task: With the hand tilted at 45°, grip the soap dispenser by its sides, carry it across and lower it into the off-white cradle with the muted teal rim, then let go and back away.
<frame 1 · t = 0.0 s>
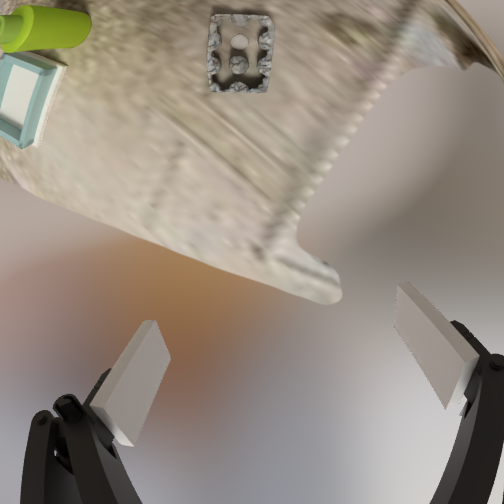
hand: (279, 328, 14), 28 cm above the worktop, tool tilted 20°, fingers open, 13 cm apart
cradle: (25, 94, 26), on the worktop
egg carton: (241, 53, 28), on the worktop
soap dispenser: (74, 33, 22), on the worktop
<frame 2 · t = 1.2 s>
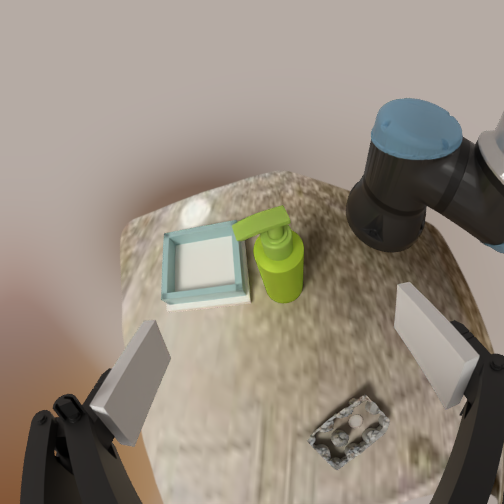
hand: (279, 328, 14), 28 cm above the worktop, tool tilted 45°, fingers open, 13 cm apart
cradle: (207, 269, 47), on the worktop
egg carton: (347, 429, 32), on the worktop
soap dispenser: (281, 287, 44), on the worktop
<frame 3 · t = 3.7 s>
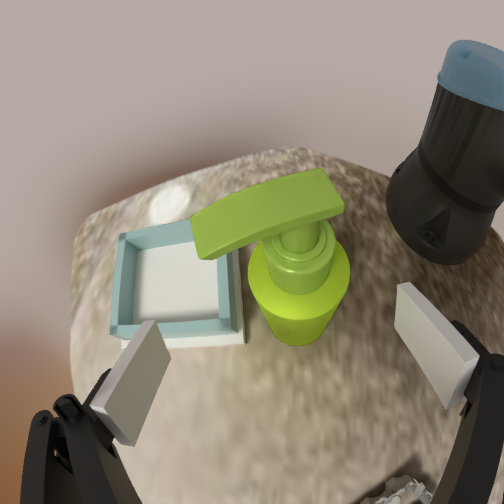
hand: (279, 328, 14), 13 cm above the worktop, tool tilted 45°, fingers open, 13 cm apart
cradle: (180, 287, 30), on the worktop
soap dispenser: (293, 319, 27), on the worktop
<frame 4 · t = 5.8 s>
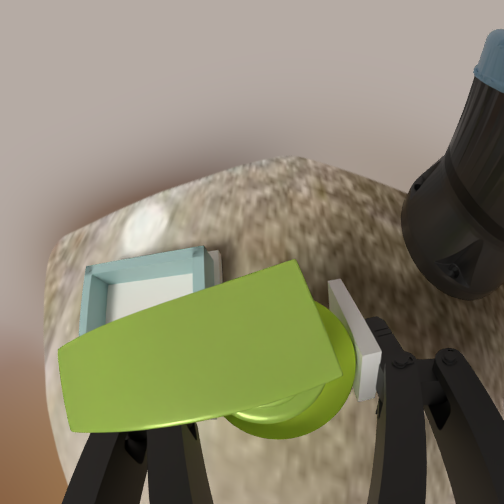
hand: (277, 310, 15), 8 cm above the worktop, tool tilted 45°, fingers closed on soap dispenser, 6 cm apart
cradle: (155, 331, 25), on the worktop
soap dispenser: (288, 374, 21), on the worktop, touching gripper
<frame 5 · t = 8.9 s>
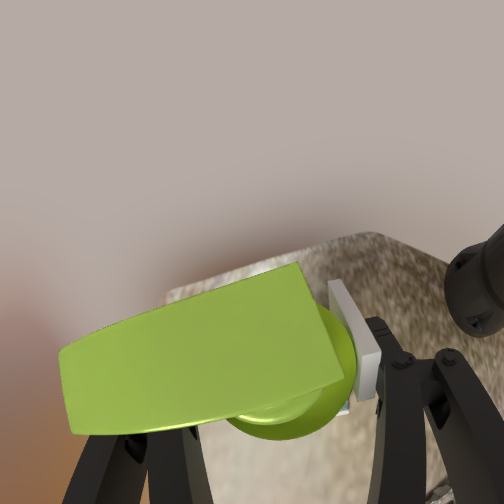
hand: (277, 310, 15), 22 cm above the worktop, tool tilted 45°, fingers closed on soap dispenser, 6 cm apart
soap dispenser: (288, 375, 21), point 14 cm above the worktop, touching gripper
when the fingers open (11 cm above the worktop, at t = 12.0 s): soap dispenser drops 1 cm, resting on cradle.
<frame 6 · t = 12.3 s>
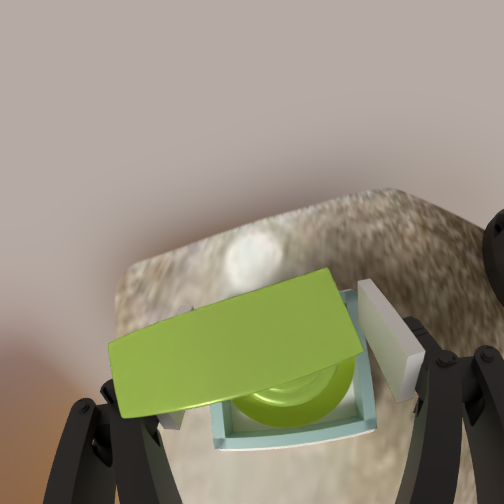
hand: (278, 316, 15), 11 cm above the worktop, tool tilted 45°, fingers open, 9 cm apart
cradle: (289, 374, 23), on the worktop
soap dispenser: (284, 376, 22), point 1 cm above the worktop, touching cradle
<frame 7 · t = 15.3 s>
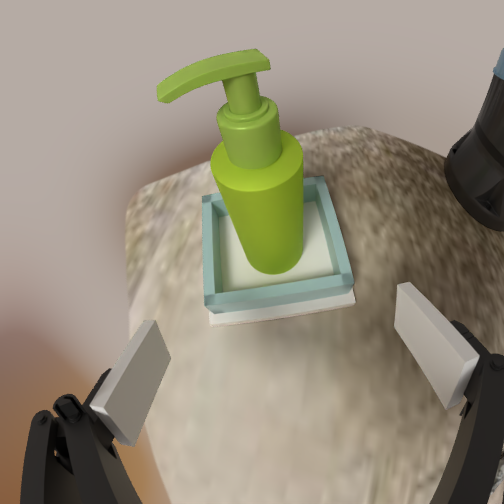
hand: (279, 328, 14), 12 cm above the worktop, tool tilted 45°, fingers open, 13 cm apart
cradle: (274, 253, 29), on the worktop
soap dispenser: (269, 250, 28), point 1 cm above the worktop, touching cradle
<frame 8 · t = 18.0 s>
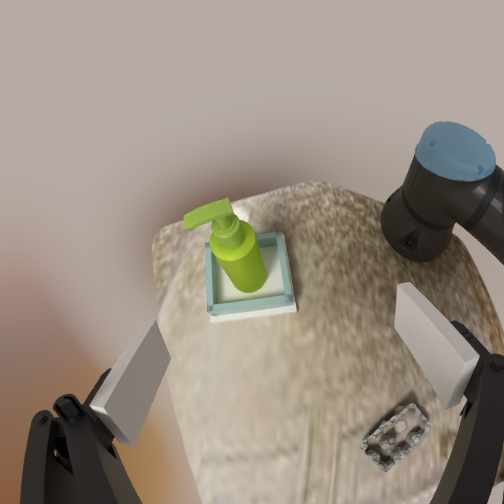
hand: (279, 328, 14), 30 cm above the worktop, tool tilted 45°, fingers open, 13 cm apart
cradle: (249, 279, 47), on the worktop
egg carton: (392, 434, 32), on the worktop
soap dispenser: (246, 277, 46), point 1 cm above the worktop, touching cradle
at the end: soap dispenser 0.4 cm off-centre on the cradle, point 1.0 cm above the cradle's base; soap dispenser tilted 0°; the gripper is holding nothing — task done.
